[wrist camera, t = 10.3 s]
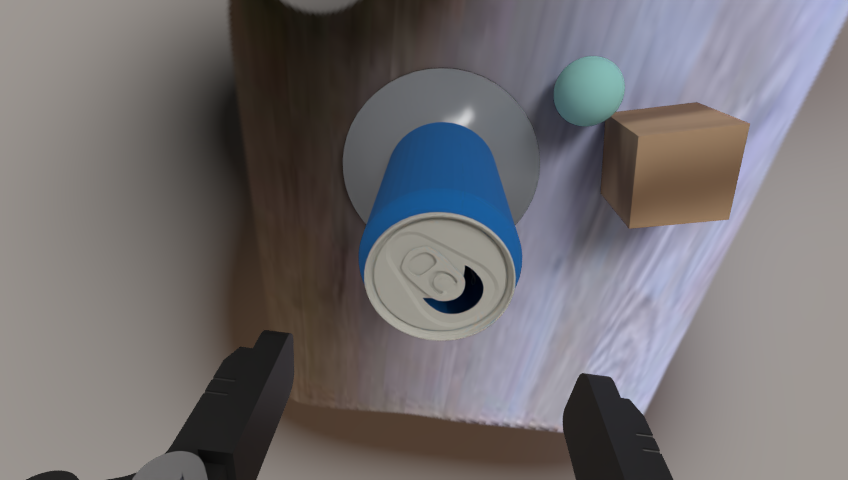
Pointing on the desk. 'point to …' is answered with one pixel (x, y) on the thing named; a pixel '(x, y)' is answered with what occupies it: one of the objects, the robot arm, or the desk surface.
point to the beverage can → (440, 237)
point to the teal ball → (589, 91)
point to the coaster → (441, 102)
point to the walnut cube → (672, 164)
